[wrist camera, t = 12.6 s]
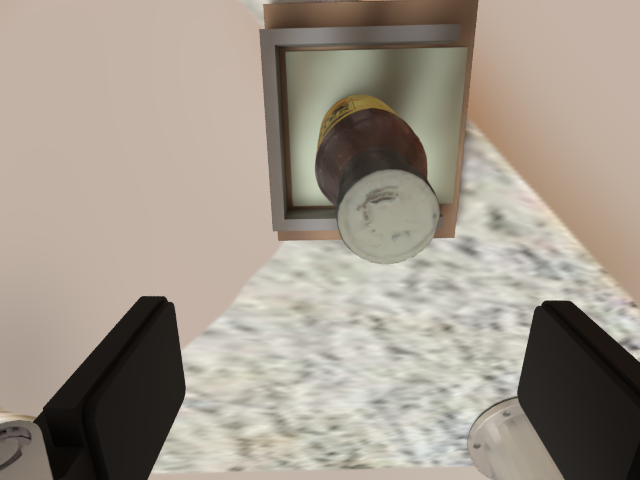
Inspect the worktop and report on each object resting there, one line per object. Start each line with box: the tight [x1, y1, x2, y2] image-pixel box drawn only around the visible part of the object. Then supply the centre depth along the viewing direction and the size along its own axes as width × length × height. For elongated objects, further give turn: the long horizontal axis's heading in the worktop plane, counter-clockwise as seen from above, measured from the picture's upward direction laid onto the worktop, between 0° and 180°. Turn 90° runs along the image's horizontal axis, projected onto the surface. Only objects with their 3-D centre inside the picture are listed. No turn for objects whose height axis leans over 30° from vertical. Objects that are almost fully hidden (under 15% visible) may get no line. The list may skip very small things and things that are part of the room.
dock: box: [259, 0, 478, 241], centre depth 34 cm, size 16×19×6 cm
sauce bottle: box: [315, 94, 440, 264], centre depth 25 cm, size 6×6×20 cm
